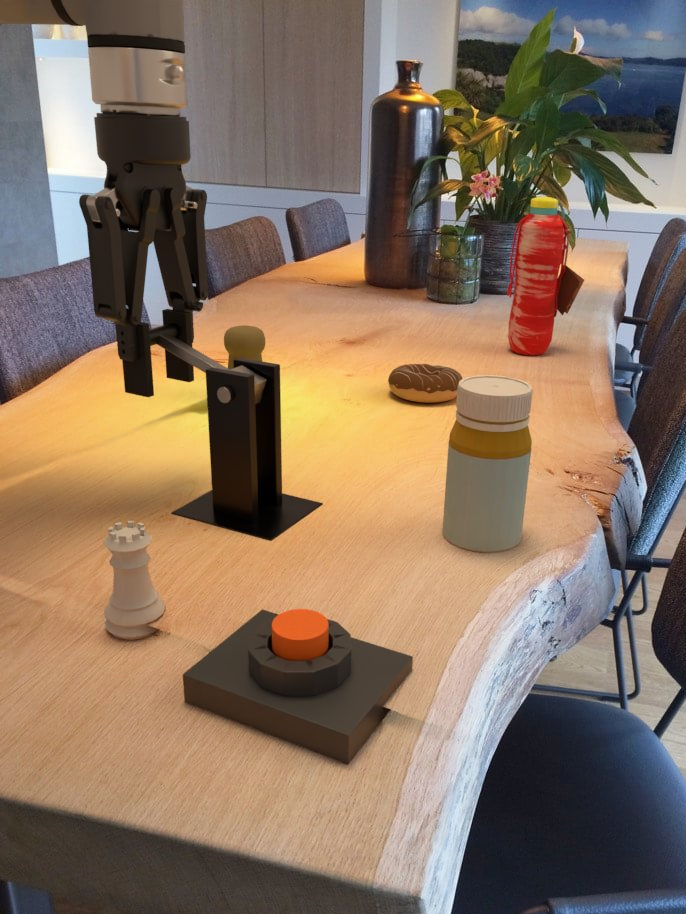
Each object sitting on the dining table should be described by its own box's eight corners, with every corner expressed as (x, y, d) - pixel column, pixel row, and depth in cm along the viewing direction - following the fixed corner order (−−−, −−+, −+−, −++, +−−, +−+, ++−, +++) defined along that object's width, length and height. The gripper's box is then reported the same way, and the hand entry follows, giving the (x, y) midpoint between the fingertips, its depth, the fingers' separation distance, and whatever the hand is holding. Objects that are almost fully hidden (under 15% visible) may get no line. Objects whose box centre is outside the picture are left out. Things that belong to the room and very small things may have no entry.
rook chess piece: (152, 646, 59) (143, 546, 56) (94, 638, 60) (81, 539, 56) (177, 613, 63) (169, 518, 60) (122, 606, 64) (111, 512, 60)
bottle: (457, 523, 79) (470, 369, 73) (529, 539, 76) (547, 381, 70) (429, 553, 73) (440, 389, 67) (505, 572, 70) (523, 402, 64)
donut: (394, 407, 111) (395, 378, 109) (381, 385, 121) (382, 358, 119) (471, 406, 113) (473, 377, 111) (452, 384, 122) (454, 357, 121)
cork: (213, 412, 107) (209, 327, 103) (245, 401, 112) (242, 319, 107) (248, 421, 104) (245, 334, 100) (280, 410, 109) (278, 326, 104)
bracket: (171, 525, 77) (159, 369, 71) (229, 491, 84) (222, 347, 78) (271, 553, 72) (267, 389, 66) (323, 515, 80) (323, 364, 74)
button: (260, 652, 52) (260, 629, 52) (291, 625, 55) (291, 603, 55) (309, 669, 51) (310, 645, 50) (338, 640, 54) (338, 617, 53)
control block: (184, 702, 53) (180, 650, 52) (262, 634, 61) (261, 587, 59) (348, 765, 48) (349, 710, 47) (411, 683, 56) (414, 633, 54)
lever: (129, 349, 74) (134, 325, 73) (166, 338, 78) (171, 315, 77) (236, 413, 71) (243, 389, 70) (269, 398, 75) (275, 375, 74)
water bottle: (565, 347, 146) (585, 196, 136) (577, 358, 139) (598, 200, 128) (498, 345, 146) (512, 194, 135) (505, 356, 138) (521, 198, 128)
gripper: (96, 108, 59) (123, 419, 68) (243, 116, 74) (249, 371, 83) (19, 105, 62) (56, 404, 71) (176, 113, 77) (189, 359, 86)
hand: (160, 385), depth 77 cm, fingers closed on lever, 5 cm apart
